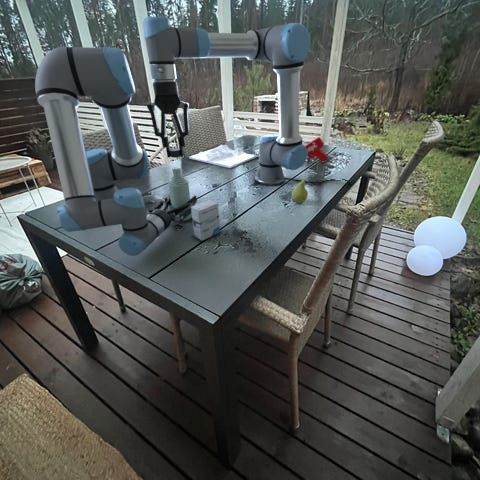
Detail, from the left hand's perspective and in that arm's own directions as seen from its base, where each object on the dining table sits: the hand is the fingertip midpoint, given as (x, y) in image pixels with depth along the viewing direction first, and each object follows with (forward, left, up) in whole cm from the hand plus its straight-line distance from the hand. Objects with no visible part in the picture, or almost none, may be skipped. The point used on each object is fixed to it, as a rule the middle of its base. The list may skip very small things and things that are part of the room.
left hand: (186, 197), depth 111 cm
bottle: (0, -5, -6) cm, 8 cm away
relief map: (-14, +77, -6) cm, 79 cm away
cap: (0, -5, +20) cm, 21 cm away
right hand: (0, -5, +18) cm, 19 cm away
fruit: (+44, +23, -6) cm, 50 cm away
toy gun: (+42, +86, -6) cm, 96 cm away
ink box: (+15, -15, -6) cm, 22 cm away
